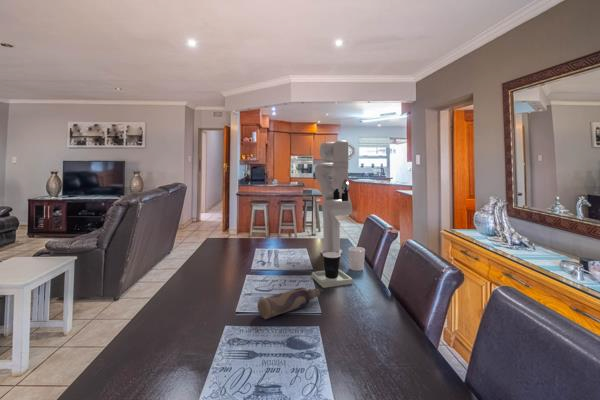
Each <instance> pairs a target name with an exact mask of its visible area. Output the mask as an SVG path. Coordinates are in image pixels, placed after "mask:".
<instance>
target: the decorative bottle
mask: <svg viewBox="0 0 600 400" xmlns="http://www.w3.org/2000/svg"><path fill="white" fill-rule="evenodd" d="M322 293H323V289H322V288H313V289H311V288H310V289H307V288H305V287H298V288H296V289H295V288H294V289H291V290H288V291H284V292H282V293H277V294H275V295H271V296H268V297H264V298H263V297H262V298H259V300H258V301H257V311H258V314H259V316H260V317H261V318H262V317H263V318H264V319H263V318H262V319H263V320H268V319H271V318H273V317H276V316H279V315H281V314H282V315H283V314H285V313H288V312H292V311H293V310H297V309H303V308H305V307H307V306H308V305H309V304H310V302H311V300H313V299H315V297H318V296H320V295H321V294H322ZM304 306H305V307H304Z"/></svg>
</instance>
